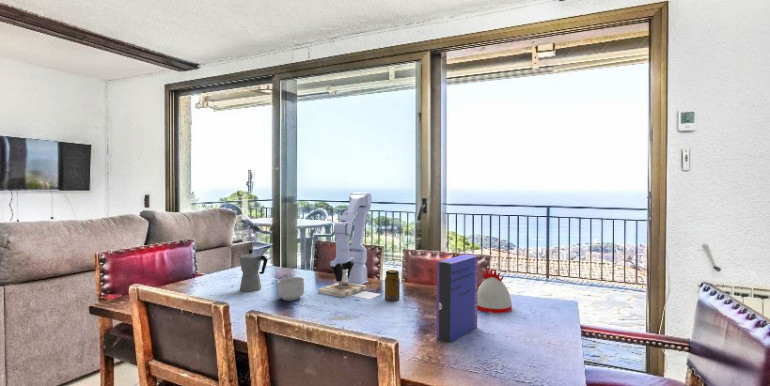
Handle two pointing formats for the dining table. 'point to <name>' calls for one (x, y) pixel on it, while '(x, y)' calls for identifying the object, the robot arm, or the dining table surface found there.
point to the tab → (367, 295)
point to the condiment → (392, 285)
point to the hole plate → (345, 290)
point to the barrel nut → (344, 278)
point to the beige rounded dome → (493, 294)
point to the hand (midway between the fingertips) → (342, 280)
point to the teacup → (290, 288)
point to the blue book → (456, 297)
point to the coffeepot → (251, 271)
